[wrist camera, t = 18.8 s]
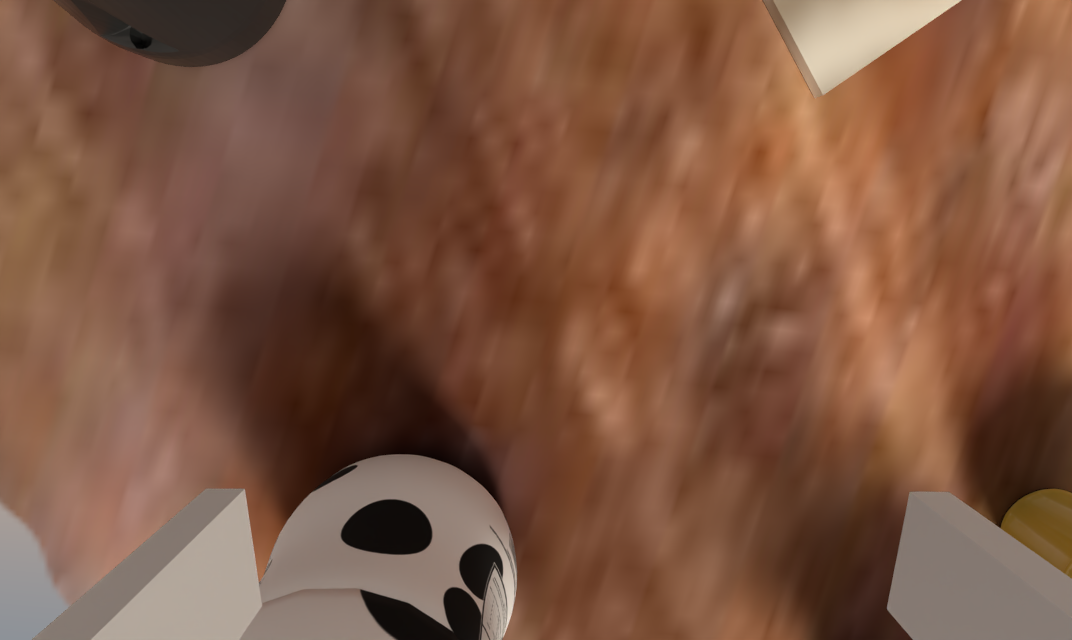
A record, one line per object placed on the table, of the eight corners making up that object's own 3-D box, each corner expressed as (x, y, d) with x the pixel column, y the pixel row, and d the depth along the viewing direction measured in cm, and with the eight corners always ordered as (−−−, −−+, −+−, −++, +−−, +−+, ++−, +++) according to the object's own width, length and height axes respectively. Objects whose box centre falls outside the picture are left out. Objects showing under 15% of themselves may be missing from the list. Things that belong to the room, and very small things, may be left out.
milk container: (262, 532, 41) (54, 782, 23) (405, 392, 38) (292, 557, 20) (419, 656, 43) (339, 964, 26) (563, 535, 41) (583, 788, 23)
